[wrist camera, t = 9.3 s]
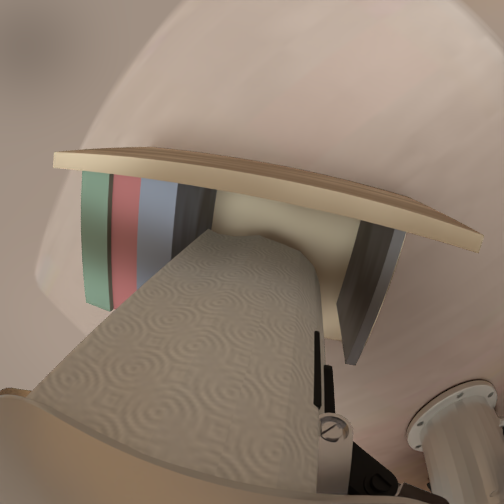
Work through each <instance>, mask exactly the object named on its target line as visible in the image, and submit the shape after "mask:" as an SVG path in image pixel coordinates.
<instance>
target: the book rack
mask: <svg viewBox="0 0 504 504" xmlns="http://www.w3.org/2000/svg"><path fill="white" fill-rule="evenodd" d="M53 168H62V169H71V170H81V171H82V190H81V241H82V262H83V276H84V287H85V297H86V302H87V303H89V304H92V305H94V306H97V307H99V308H102V309H105V310H107V311H112V310H113V309H117V308H118V307H119V306H120V305H121V304H122V303H123V302H124V301H126V300H127V299H128V298H129V297H130V296H131V295H132V294H133V293H134V292H136V291H137V290H138V289H139V288H140V287H141V286H142V285H143V284H145V283H146V282H147V281H148V280H149V279H150V278H151V277H152V276H154V275H155V274H156V273H157V272H158V271H159V270H160V269H162V268H163V267H164V266H165V265H166V264H167V263H168V262H170V261H171V260H172V259H173V258H174V257H175V256H177V255H178V254H179V253H180V252H181V251H182V250H184V249H185V248H186V247H187V246H188V245H190V244H191V243H192V242H193V241H194V240H195V239H197V238H198V237H199V236H200V235H201V234H203V233H204V232H205V231H206V230H207V229H210V230H212V231H214V232H216V233H218V234H224V235H229V236H253V235H260V236H263V237H266V238H268V239H271V240H274V241H276V242H279V243H282V244H284V245H287V246H289V247H291V248H294V249H296V250H298V251H300V252H301V253H302V254H303V255H304V256H305V257H306V258H307V259H308V260H309V261H310V263H311V264H312V265H313V266H314V268H315V271H316V274H317V277H318V280H319V283H320V293H321V304H322V317H323V331H324V338H327V339H332V340H338V341H342V343H343V350H344V357H345V364H349V365H356V363H357V361H358V359H359V357H360V355H361V352H362V350H363V348H364V346H365V345H366V343H367V341H368V338H369V336H370V334H371V332H372V329H373V327H374V324H375V322H376V320H377V317H378V315H379V312H380V310H381V307H382V305H383V302H384V299H385V297H386V294H387V291H388V289H389V286H390V283H391V280H392V277H393V274H394V272H395V269H396V266H397V263H398V260H399V257H400V253H401V250H402V247H403V244H404V240H405V237H406V234H407V232H408V233H412V234H416V235H419V236H423V237H426V238H430V239H433V240H437V241H440V242H443V243H447V244H450V245H453V246H457V247H460V248H463V249H466V250H469V251H473V252H476V253H479V250H480V247H481V244H482V241H483V238H484V235H482V234H480V233H478V232H477V231H475V230H473V229H471V228H469V227H468V226H466V225H464V224H462V223H460V222H458V221H456V220H454V219H452V218H450V217H448V216H446V215H445V214H443V213H441V212H438V211H436V210H434V209H432V208H430V207H428V206H426V205H424V204H422V203H420V202H418V201H415V200H413V199H411V198H409V197H406V196H403V195H399V194H396V193H392V192H389V191H385V190H382V189H378V188H375V187H371V186H367V185H363V184H360V183H356V182H352V181H348V180H344V179H340V178H335V177H331V176H327V175H323V174H318V173H314V172H309V171H304V170H300V169H295V168H290V167H285V166H280V165H275V164H269V163H264V162H258V161H253V160H247V159H241V158H234V157H228V156H221V155H214V154H207V153H200V152H192V151H183V150H175V149H165V148H155V147H126V148H101V149H85V150H72V151H61V152H54V163H53Z"/></svg>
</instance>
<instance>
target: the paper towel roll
mask: <svg viewBox="0 0 504 504" xmlns="http://www.w3.org/2000/svg"><path fill="white" fill-rule="evenodd" d="M314 331H319V332H320V353H321V391H322V406H321V408H320V410H319V409H318V407H316V406H315V405H314V404H313V398H314ZM324 365H325V346H324V331H323V317H322V304H321V293H320V283H319V280H318V277H317V274H316V271H315V268H314V266H313V265H312V264H311V263H310V261H309V260H308V259H307V258H306V257H305V256H304V255H303V254H302V253H301V252H300V251H298V250H296V249H294V248H291V247H289V246H287V245H284V244H282V243H279V242H276V241H274V240H271V239H268V238H266V237H263V236H260V235H253V236H229V235H224V234H218V233H216V232H214V231H212V230H210V229H207V230H206V231H205V232H204V233H203V234H201V235H200V236H199V237H198V238H197V239H195V240H194V241H193V242H192V243H191V244H190V245H188V246H187V247H186V248H185V249H184V250H182V251H181V252H180V253H179V254H178V255H177V256H175V257H174V258H173V259H172V260H171V261H170V262H168V263H167V264H166V265H165V266H164V267H163V268H162V269H160V270H159V271H158V272H157V273H156V274H155V275H154V276H152V277H151V278H150V279H149V280H148V281H147V282H146V283H145V284H143V285H142V286H141V287H140V288H139V289H138V290H137V291H136V292H134V293H133V294H132V295H131V296H130V297H129V298H128V299H127V300H126V301H124V302H123V303H122V304H121V305H120V306H119V307H118V308H117V309H116V310H115V311H114V312H112V313H111V314H110V315H109V316H108V317H107V318H106V319H105V320H104V321H103V322H102V323H101V324H100V325H98V326H97V327H96V328H95V329H94V330H93V331H92V332H91V333H90V334H89V335H88V336H87V337H86V338H85V339H84V340H83V341H82V342H81V343H80V344H79V345H78V346H76V347H75V348H74V349H73V350H72V351H71V352H70V353H69V354H68V355H67V356H66V357H65V358H64V359H63V360H62V361H61V362H60V363H59V364H58V365H57V366H56V367H55V368H54V369H53V370H52V371H51V372H50V373H49V374H48V375H47V376H46V377H45V378H44V379H43V380H42V381H41V382H40V383H39V384H38V385H37V386H36V387H35V388H34V389H33V390H32V391H31V392H30V393H29V395H28V396H27V397H26V398H28V399H32V400H35V401H38V402H40V403H43V404H45V405H47V406H49V407H51V408H54V409H55V410H57V411H59V412H61V413H63V414H65V415H67V416H69V417H71V418H72V419H74V420H76V421H78V422H80V423H82V424H83V425H85V426H87V427H89V428H91V429H93V430H95V431H97V432H99V433H101V434H103V435H105V436H108V437H110V438H112V439H114V440H116V441H118V442H120V443H123V444H125V445H127V446H129V447H131V448H133V449H135V450H137V451H139V452H141V453H143V454H145V455H148V456H151V457H153V458H156V459H159V460H162V461H165V462H168V463H171V464H175V465H178V466H181V467H185V468H188V469H192V470H195V471H199V472H202V473H206V474H209V475H213V476H217V477H221V478H225V479H229V480H233V481H238V482H242V483H247V484H252V485H257V486H263V487H269V488H275V489H282V490H289V491H298V492H307V493H316V488H317V470H318V445H319V436H320V437H321V433H320V429H321V421H320V420H319V415H320V414H322V413H324Z"/></svg>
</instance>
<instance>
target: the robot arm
mask: <svg viewBox="0 0 504 504" xmlns="http://www.w3.org/2000/svg"><path fill="white" fill-rule="evenodd" d="M30 392H31V391H30V390H23V389H16V388H5V389H2V390H1V391H0V504H504V435H503V429H502V428H501V427H502V426H504V417H498V416H497V414H496V412H495V410H494V408H495V405H496V402H497V393H496V390H495V388H494V387H493V385H492V384H491V383H489V382H487V381H484V380H476V381H471V382H467V383H464V384H460V385H458V386H456V387H454V388H451V389H449V390H448V391H446V392H444V393H442V394H441V395H439V396H438V397H436V398H435V399H433V400H432V401H431V402H429V403H428V404H427V405H426V406H425V407H423V408H422V409H421V410H420V411H419V412H418V413H417V415H416V416H415V417H414V418H413V420H412V421H411V423H410V425H409V426H408V429H407V440H408V444H409V446H410V447H411V448H412V449H414V450H417V451H422V452H423V453H424V457H425V462H426V466H427V471H428V475H429V480H430V485H431V490H432V493H430V492H428V491H425V490H422V489H420V488H417V487H415V486H412V485H410V484H407V483H405V482H404V483H403V484H400V483H398V481H397V479H396V477H395V476H394V475H393V474H392V473H391V472H390V471H389V470H388V469H386V468H385V467H384V466H383V465H381V464H380V463H379V462H378V461H376V460H375V459H374V458H373V457H371V456H370V455H369V454H368V453H366V452H365V451H364V450H363V449H362V448H360V447H359V446H358V445H357V444H356V443H354V442H353V434H354V433H353V427H352V425H351V423H350V422H349V421H348V420H347V419H346V418H344V417H343V416H341V415H338V414H336V413H335V401H334V384H333V370H332V366H329V365H324V413H322V414H320V415H319V420H320V421H321V429H320V433H321V437H320V436H319V445H318V470H317V488H316V493H307V492H298V491H289V490H282V489H275V488H269V487H263V486H257V485H252V484H247V483H242V482H238V481H233V480H229V479H225V478H221V477H217V476H213V475H209V474H206V473H202V472H199V471H195V470H192V469H188V468H185V467H181V466H178V465H175V464H171V463H168V462H165V461H162V460H159V459H156V458H153V457H151V456H148V455H145V454H143V453H141V452H139V451H137V450H135V449H133V448H131V447H129V446H127V445H125V444H123V443H120V442H118V441H116V440H114V439H112V438H110V437H108V436H105V435H103V434H101V433H99V432H97V431H95V430H93V429H91V428H89V427H87V426H85V425H83V424H82V423H80V422H78V421H76V420H74V419H72V418H71V417H69V416H67V415H65V414H63V413H61V412H59V411H57V410H55V409H54V408H51V407H49V406H47V405H45V404H43V403H40V402H38V401H35V400H32V399H28V398H26V397H27V396H28V395H29V393H30ZM313 404H314V405H315V406H316V407H318V409H319V410H320V408H321V406H322V391H321V353H320V332H319V331H314V398H313Z"/></svg>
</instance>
